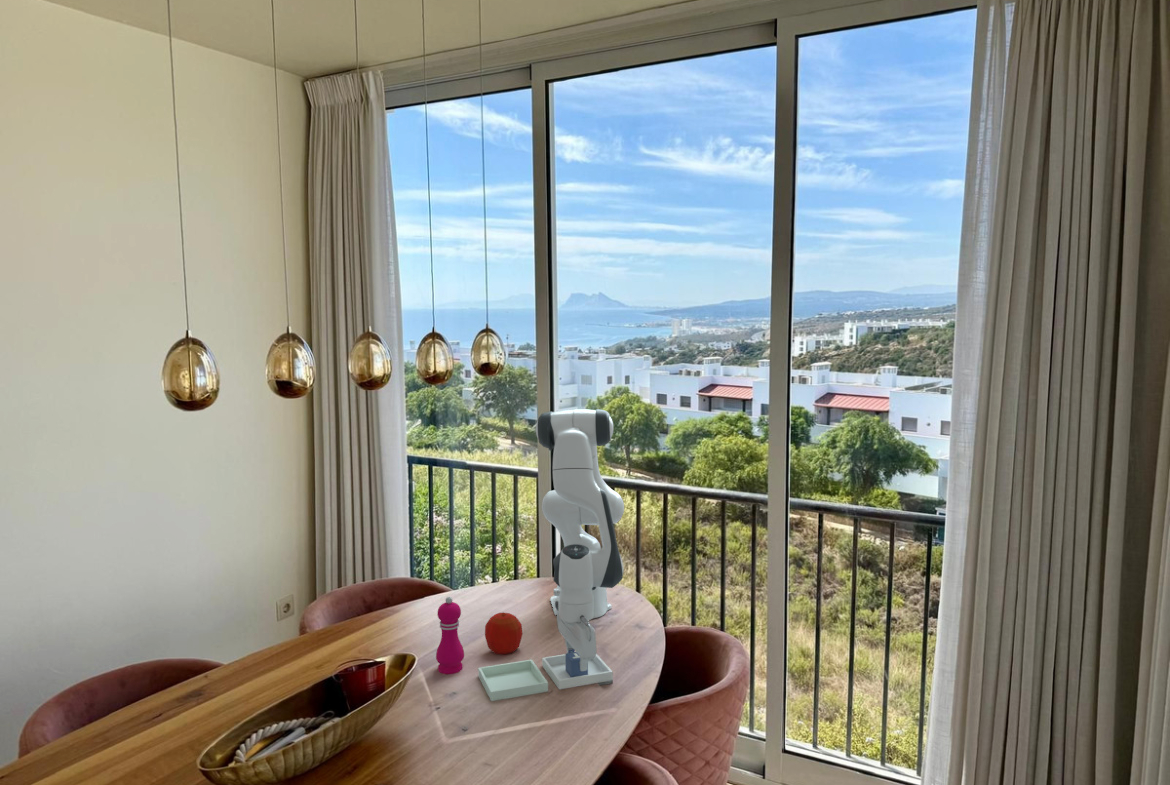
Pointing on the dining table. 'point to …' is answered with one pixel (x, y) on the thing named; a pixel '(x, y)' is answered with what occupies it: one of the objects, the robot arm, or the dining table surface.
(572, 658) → the letter cube
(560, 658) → the tray offwhite
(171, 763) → the dining table surface
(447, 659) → the pepper mill
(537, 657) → the dining table surface
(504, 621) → the apple
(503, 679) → the tray sage
